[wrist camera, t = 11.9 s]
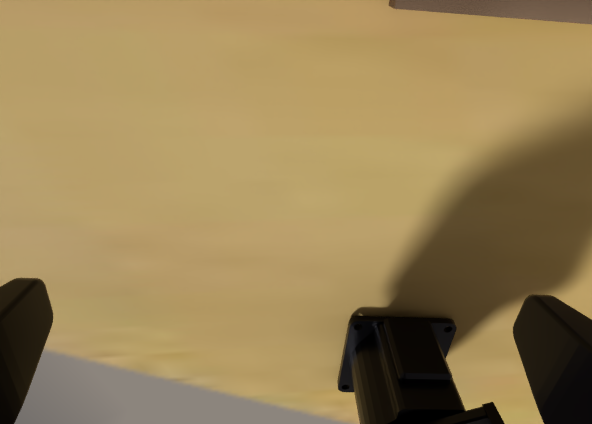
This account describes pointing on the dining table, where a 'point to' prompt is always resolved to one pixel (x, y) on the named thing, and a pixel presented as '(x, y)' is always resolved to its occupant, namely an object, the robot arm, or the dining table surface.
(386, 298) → the dining table surface
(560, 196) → the dining table surface
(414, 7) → the socket board
